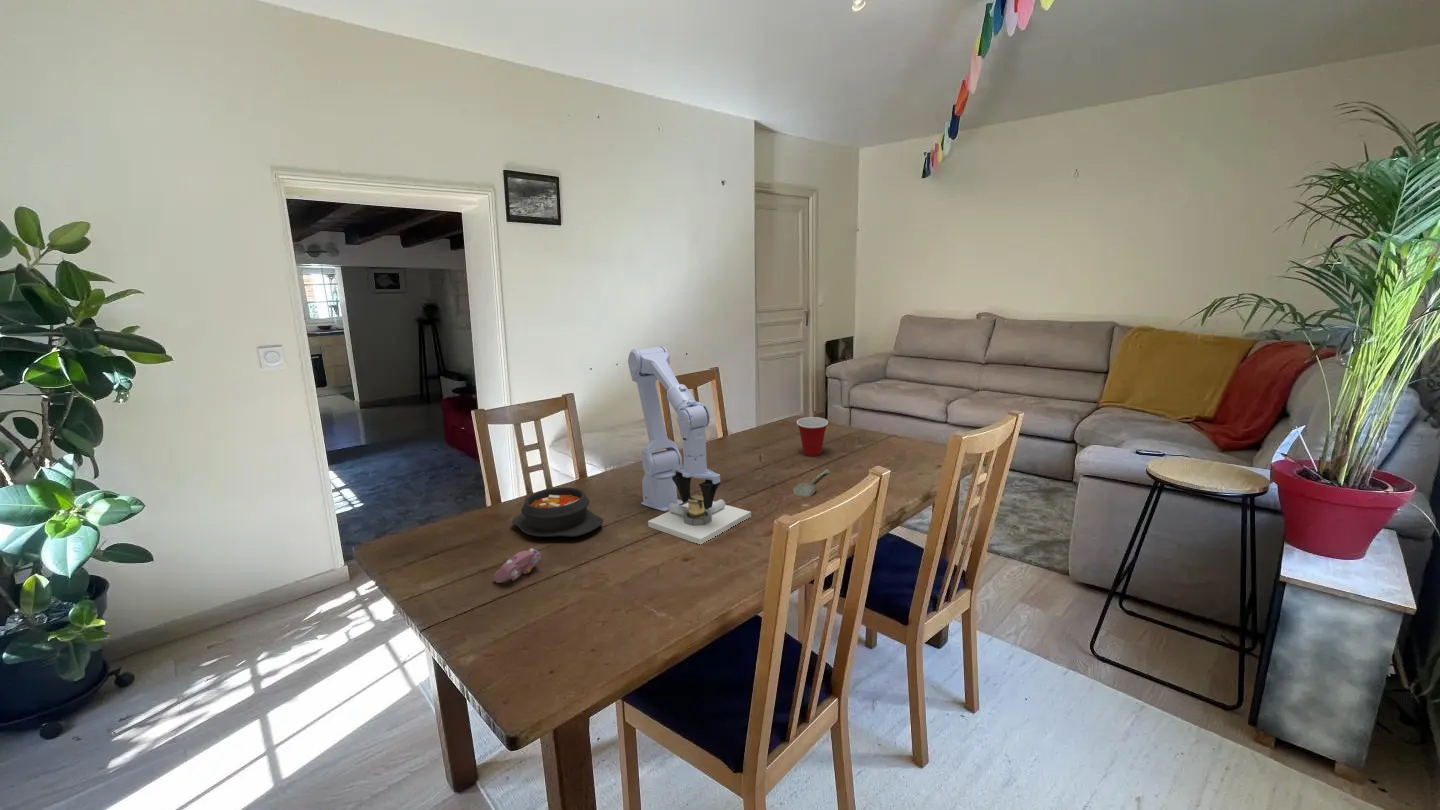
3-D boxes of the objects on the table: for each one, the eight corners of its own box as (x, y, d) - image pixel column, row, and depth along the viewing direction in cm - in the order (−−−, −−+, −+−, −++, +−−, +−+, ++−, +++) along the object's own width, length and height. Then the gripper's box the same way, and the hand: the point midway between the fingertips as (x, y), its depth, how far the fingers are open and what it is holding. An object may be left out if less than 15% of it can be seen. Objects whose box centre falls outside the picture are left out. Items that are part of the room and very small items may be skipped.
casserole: (618, 521, 156) (616, 491, 154) (571, 551, 140) (568, 518, 138) (547, 507, 167) (544, 479, 166) (495, 533, 151) (491, 502, 149)
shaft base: (648, 526, 152) (647, 512, 151) (699, 502, 167) (699, 489, 166) (700, 545, 141) (700, 529, 140) (751, 517, 156) (750, 503, 155)
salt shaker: (685, 520, 151) (684, 498, 150) (697, 515, 154) (696, 493, 153) (696, 525, 148) (695, 502, 147) (708, 519, 151) (707, 497, 150)
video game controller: (504, 593, 125) (510, 570, 122) (490, 580, 127) (496, 556, 124) (540, 573, 133) (547, 550, 130) (527, 560, 135) (533, 538, 132)
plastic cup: (796, 458, 203) (795, 424, 200) (797, 449, 213) (797, 416, 211) (828, 459, 201) (828, 424, 198) (827, 449, 211) (828, 417, 209)
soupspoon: (788, 497, 171) (810, 502, 168) (789, 487, 170) (810, 491, 167) (817, 472, 189) (837, 476, 186) (818, 462, 188) (837, 466, 185)
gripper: (662, 452, 149) (665, 503, 152) (706, 462, 140) (708, 516, 143) (681, 445, 155) (684, 494, 158) (725, 455, 145) (726, 507, 148)
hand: (696, 504), depth 151 cm, fingers open, 7 cm apart
